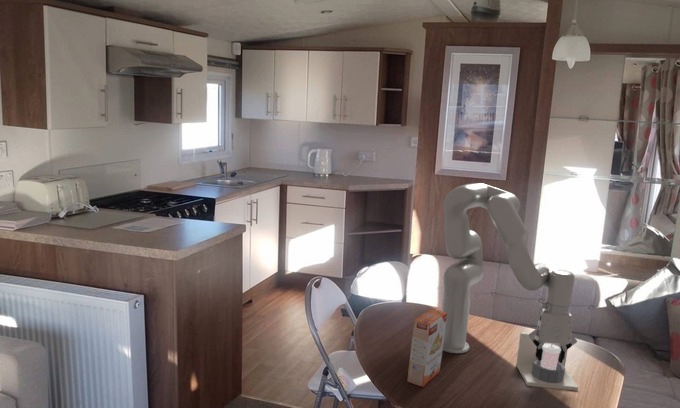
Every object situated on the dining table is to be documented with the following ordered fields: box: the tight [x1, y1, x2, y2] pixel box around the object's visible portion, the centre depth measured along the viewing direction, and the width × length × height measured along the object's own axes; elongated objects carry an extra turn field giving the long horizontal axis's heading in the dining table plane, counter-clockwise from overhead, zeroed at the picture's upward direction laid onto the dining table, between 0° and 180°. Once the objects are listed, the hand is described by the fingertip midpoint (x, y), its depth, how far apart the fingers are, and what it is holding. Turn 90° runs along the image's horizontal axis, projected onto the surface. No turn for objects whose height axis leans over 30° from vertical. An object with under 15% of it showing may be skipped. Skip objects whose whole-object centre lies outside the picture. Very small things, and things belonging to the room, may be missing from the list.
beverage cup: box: [541, 343, 561, 370], centre depth 189 cm, size 6×6×14 cm
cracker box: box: [406, 308, 447, 388], centre depth 184 cm, size 14×6×21 cm, turn 148°
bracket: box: [515, 332, 579, 392], centre depth 191 cm, size 16×15×12 cm
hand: (549, 359), depth 190 cm, fingers closed on beverage cup, 6 cm apart
